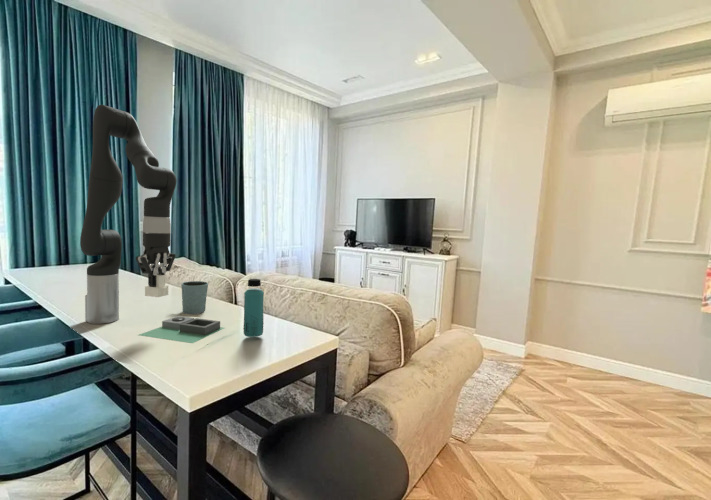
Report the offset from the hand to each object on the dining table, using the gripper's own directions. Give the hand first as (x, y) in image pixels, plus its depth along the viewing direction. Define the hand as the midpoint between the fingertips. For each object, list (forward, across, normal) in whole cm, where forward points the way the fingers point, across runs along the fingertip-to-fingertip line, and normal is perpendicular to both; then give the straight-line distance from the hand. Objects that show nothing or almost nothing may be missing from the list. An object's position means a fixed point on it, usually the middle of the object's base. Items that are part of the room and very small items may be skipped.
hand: (156, 285), depth 106 cm
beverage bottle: (+17, -11, +28) cm, 35 cm away
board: (+17, -5, +6) cm, 19 cm away
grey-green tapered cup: (+17, -31, -11) cm, 37 cm away
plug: (+3, 0, 0) cm, 3 cm away
